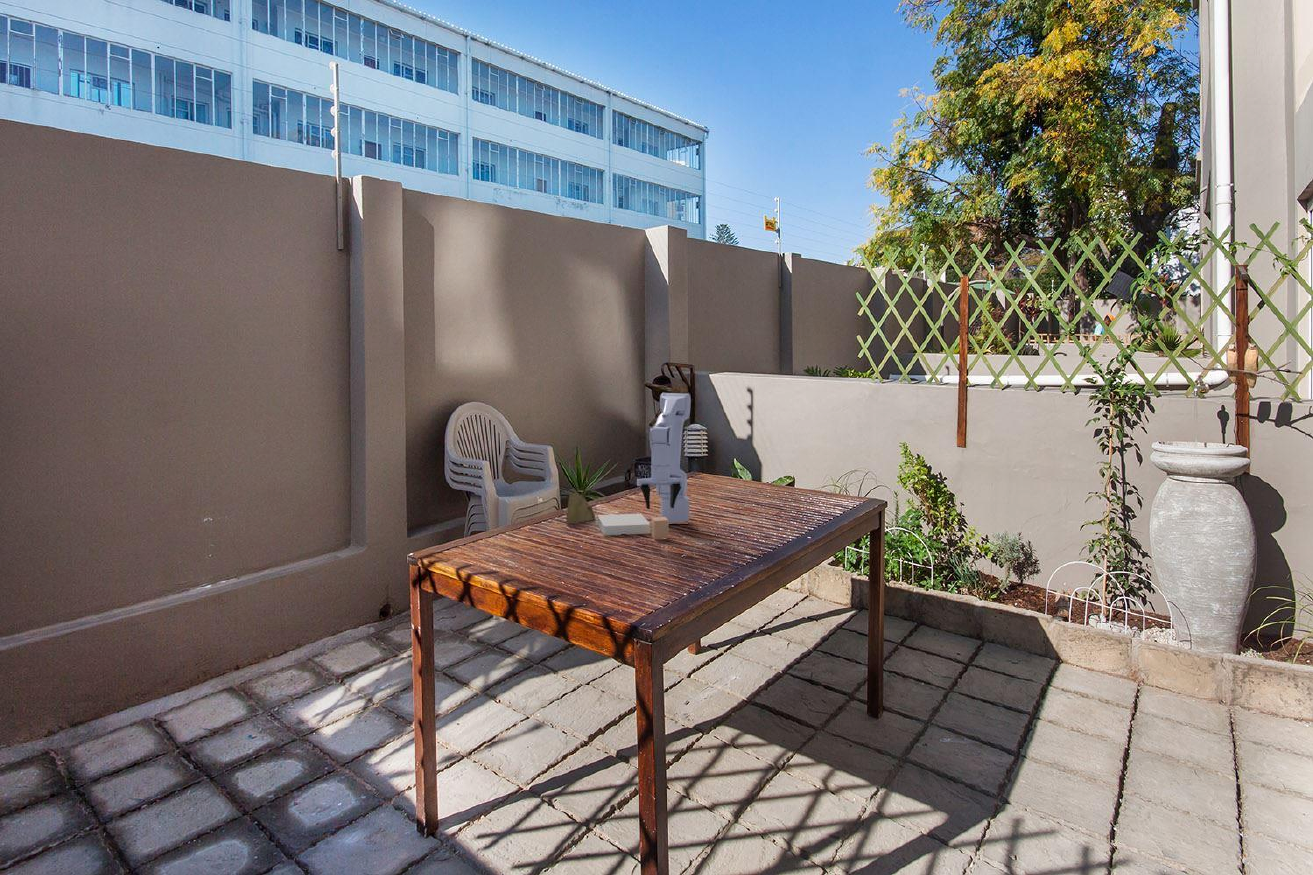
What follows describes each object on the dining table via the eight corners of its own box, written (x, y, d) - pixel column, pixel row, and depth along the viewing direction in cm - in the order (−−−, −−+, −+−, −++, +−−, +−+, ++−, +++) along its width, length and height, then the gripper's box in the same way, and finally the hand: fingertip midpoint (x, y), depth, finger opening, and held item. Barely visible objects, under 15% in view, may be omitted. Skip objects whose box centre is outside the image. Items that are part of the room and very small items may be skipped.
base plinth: (641, 522, 248) (641, 513, 248) (650, 533, 234) (650, 524, 234) (597, 523, 245) (597, 515, 245) (603, 535, 231) (603, 526, 230)
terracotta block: (665, 535, 232) (665, 516, 231) (668, 539, 228) (668, 520, 227) (651, 535, 231) (651, 517, 230) (654, 539, 227) (654, 520, 226)
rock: (596, 510, 256) (568, 506, 255) (599, 494, 250) (570, 490, 249) (593, 534, 248) (564, 530, 247) (595, 518, 242) (565, 514, 241)
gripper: (640, 467, 221) (639, 511, 223) (686, 466, 224) (685, 509, 226) (635, 463, 228) (635, 506, 230) (680, 462, 231) (680, 504, 233)
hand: (660, 507), depth 228 cm, fingers open, 7 cm apart
